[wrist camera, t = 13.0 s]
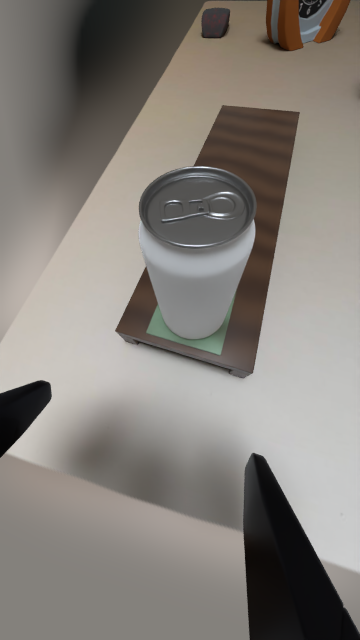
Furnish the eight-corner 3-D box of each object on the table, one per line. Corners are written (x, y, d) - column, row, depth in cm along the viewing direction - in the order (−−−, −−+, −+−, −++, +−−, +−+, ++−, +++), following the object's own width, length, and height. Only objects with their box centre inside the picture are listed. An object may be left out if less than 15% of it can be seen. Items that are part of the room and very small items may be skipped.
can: (230, 337, 19) (284, 246, 8) (164, 344, 19) (128, 262, 8) (219, 281, 22) (249, 154, 11) (160, 287, 22) (130, 167, 11)
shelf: (243, 378, 21) (253, 373, 18) (125, 341, 23) (114, 330, 20) (290, 136, 38) (300, 110, 35) (220, 128, 41) (222, 103, 37)
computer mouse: (199, 38, 62) (199, 14, 58) (207, 23, 67) (208, 1, 63) (225, 38, 61) (227, 14, 57) (231, 23, 66) (233, 0, 62)
